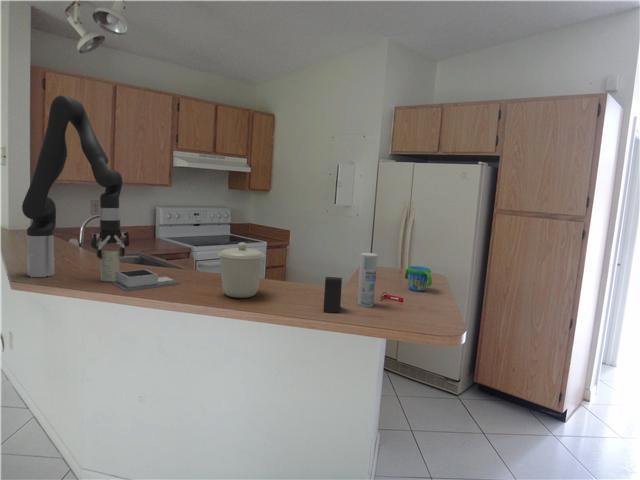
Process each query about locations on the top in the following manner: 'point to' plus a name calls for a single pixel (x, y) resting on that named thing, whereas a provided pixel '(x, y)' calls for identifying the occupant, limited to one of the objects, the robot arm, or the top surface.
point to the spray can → (367, 279)
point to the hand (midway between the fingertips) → (110, 257)
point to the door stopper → (332, 294)
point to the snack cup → (418, 278)
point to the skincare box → (109, 265)
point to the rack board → (141, 280)
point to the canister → (241, 271)
